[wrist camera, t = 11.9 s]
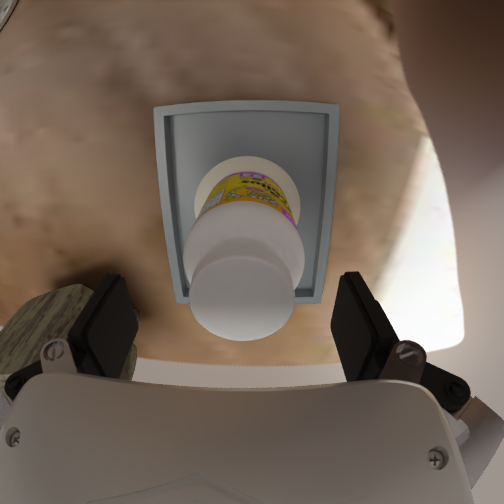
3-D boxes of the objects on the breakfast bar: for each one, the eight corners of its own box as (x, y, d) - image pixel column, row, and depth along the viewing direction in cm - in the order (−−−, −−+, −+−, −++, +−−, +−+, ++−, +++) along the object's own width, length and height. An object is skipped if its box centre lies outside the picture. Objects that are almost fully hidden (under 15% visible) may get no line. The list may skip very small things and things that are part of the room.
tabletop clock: (75, 333, 32) (4, 479, 10) (40, 281, 28) (-62, 425, 6) (155, 319, 30) (89, 531, 8) (117, 252, 26) (-18, 476, 4)
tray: (162, 107, 20) (153, 107, 18) (331, 105, 20) (339, 104, 18) (181, 290, 28) (176, 303, 26) (316, 290, 28) (320, 303, 26)
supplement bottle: (303, 206, 23) (348, 302, 12) (248, 256, 26) (246, 371, 14) (245, 151, 21) (237, 199, 10) (191, 208, 23) (140, 303, 12)
